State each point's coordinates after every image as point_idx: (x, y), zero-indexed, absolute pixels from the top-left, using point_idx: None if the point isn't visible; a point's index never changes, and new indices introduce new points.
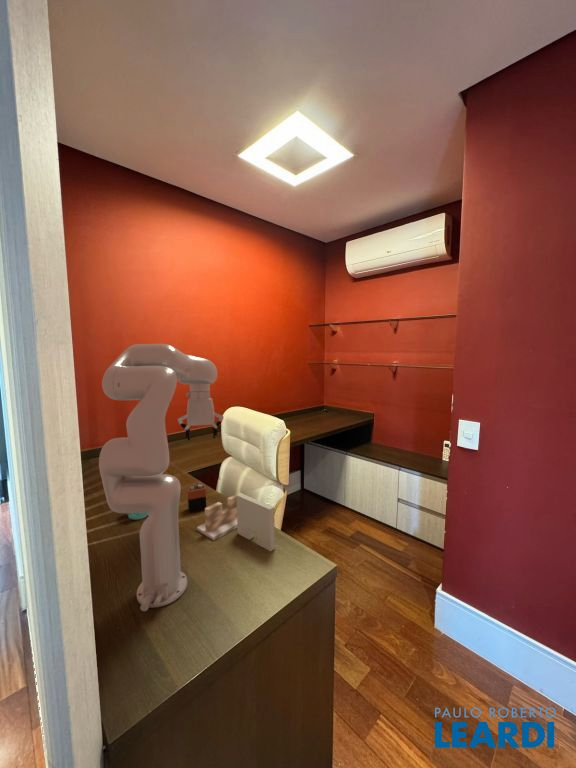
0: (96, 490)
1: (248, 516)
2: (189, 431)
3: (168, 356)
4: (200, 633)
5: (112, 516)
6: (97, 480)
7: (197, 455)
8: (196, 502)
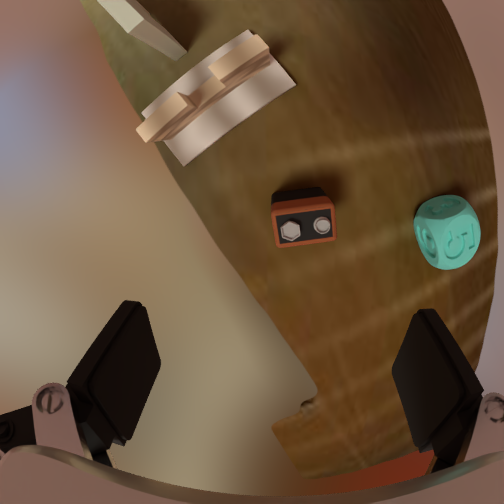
0: (476, 349)
1: (140, 9)
2: (444, 396)
3: None
4: None
5: None
6: None
7: (286, 452)
8: (302, 194)
